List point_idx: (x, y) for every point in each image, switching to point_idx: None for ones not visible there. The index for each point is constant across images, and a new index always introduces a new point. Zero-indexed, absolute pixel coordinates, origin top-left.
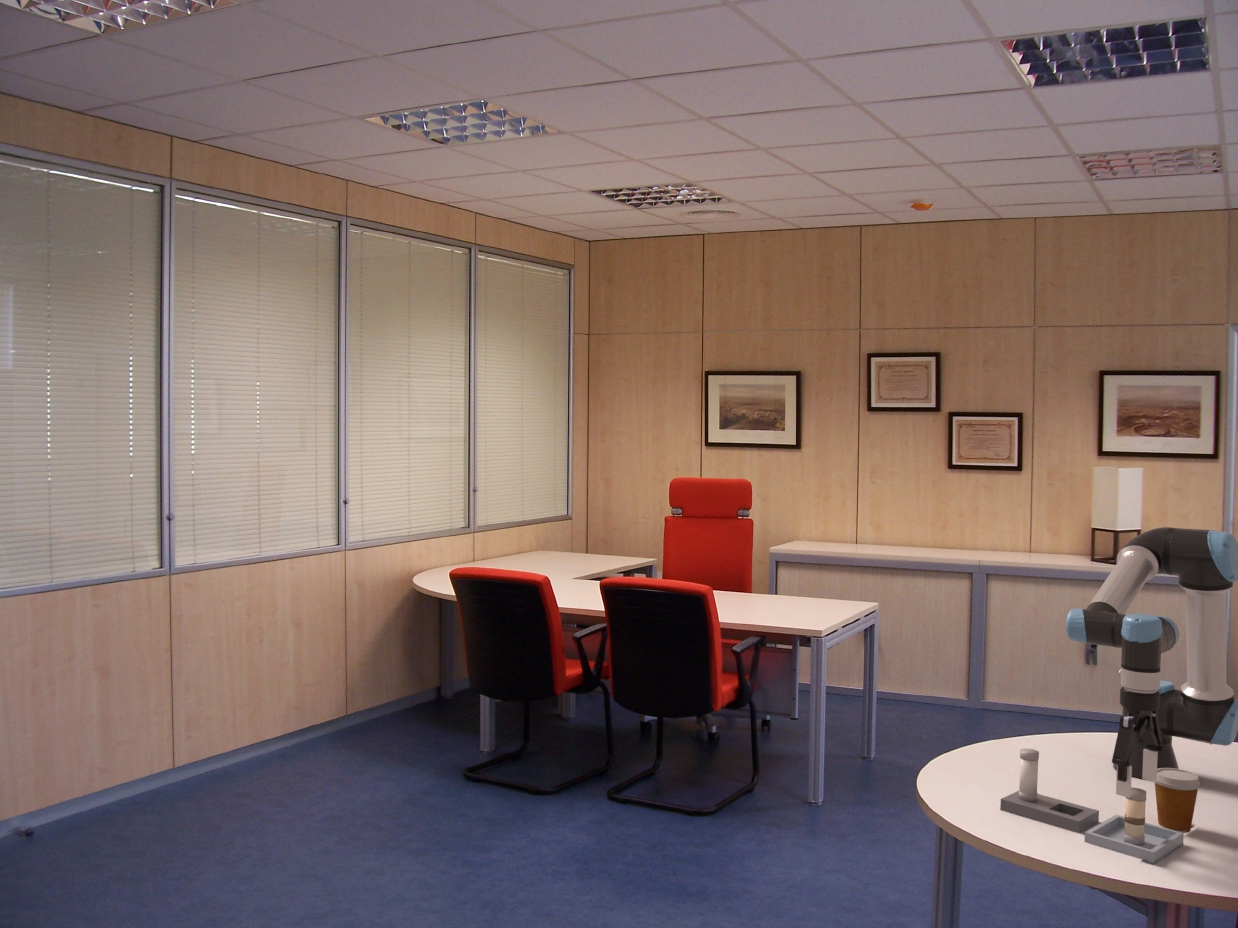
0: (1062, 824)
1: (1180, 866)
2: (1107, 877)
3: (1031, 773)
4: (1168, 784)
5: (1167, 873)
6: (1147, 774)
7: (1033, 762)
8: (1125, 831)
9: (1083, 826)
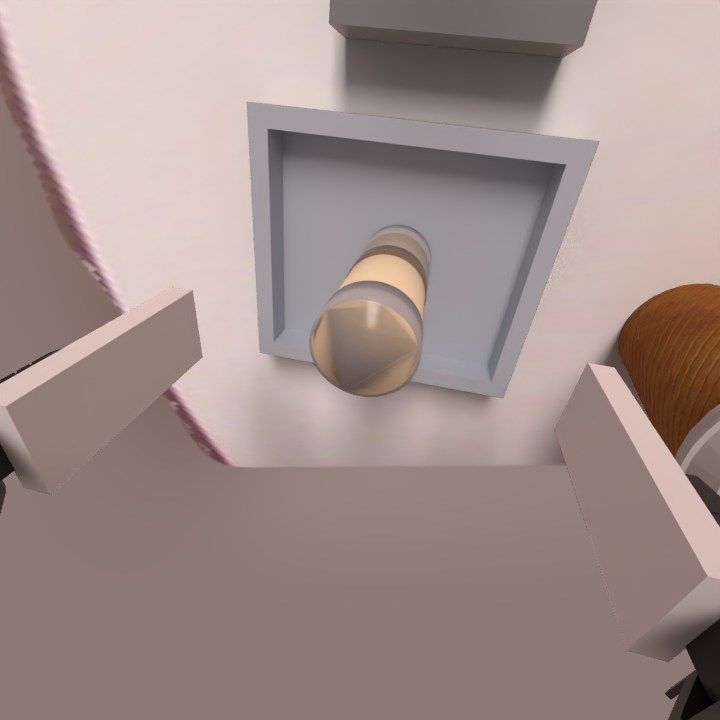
0: None
1: (316, 387)
2: (92, 259)
3: None
4: (688, 448)
5: (246, 369)
6: (584, 415)
7: None
8: (369, 244)
9: (388, 37)
